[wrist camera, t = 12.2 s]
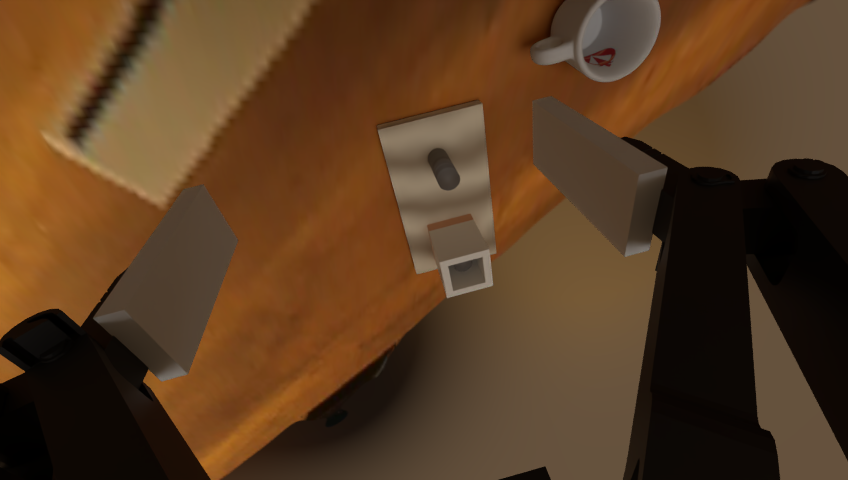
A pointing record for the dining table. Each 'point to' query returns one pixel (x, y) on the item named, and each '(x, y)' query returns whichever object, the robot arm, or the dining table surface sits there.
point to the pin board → (422, 178)
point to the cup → (601, 37)
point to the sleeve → (460, 255)
